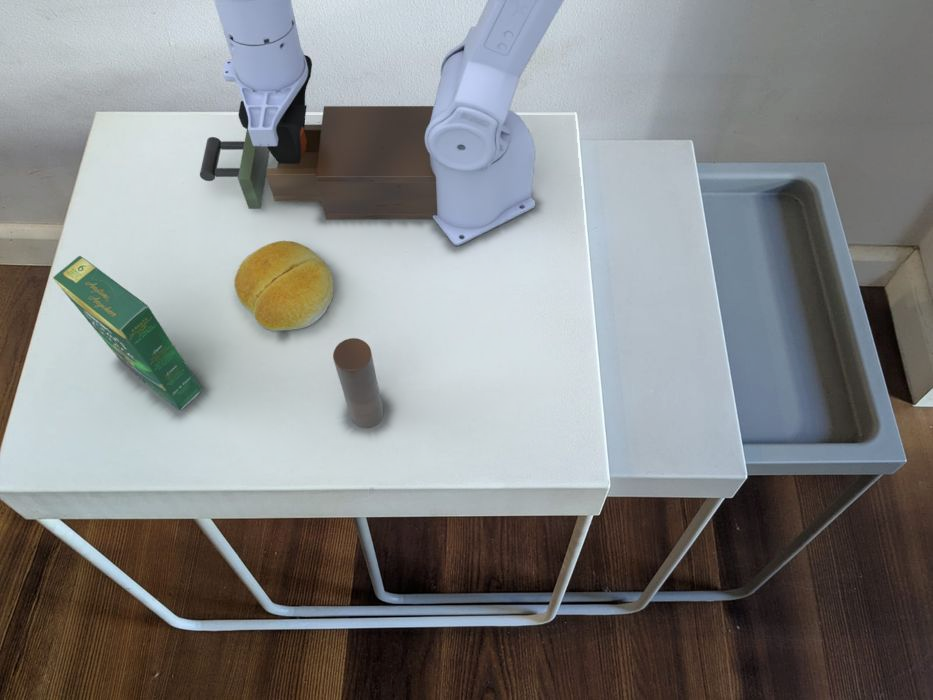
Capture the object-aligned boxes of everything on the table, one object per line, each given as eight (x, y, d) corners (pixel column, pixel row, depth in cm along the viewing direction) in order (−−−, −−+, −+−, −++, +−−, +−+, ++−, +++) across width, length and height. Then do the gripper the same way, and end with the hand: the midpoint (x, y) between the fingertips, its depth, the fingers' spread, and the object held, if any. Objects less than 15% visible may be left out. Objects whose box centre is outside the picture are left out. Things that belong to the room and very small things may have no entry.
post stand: (373, 392, 66) (359, 331, 57) (389, 417, 65) (378, 359, 56) (344, 408, 66) (326, 349, 57) (360, 434, 64) (344, 377, 56)
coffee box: (117, 362, 68) (47, 275, 56) (142, 339, 69) (79, 250, 57) (179, 413, 65) (119, 333, 54) (204, 389, 66) (151, 306, 55)
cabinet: (325, 219, 76) (315, 176, 70) (332, 151, 80) (323, 105, 75) (443, 219, 76) (442, 176, 71) (444, 150, 80) (443, 105, 75)
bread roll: (280, 350, 68) (270, 327, 65) (226, 287, 72) (214, 261, 68) (355, 300, 71) (349, 275, 68) (299, 241, 74) (291, 214, 71)
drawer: (205, 209, 75) (192, 178, 71) (217, 149, 79) (205, 117, 75) (356, 208, 75) (351, 178, 72) (361, 149, 79) (356, 117, 75)
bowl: (298, 131, 74) (293, 114, 73) (312, 151, 73) (308, 134, 71) (269, 143, 74) (264, 126, 72) (283, 163, 72) (278, 146, 71)
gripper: (221, -35, 65) (258, 92, 77) (193, 85, 58) (238, 205, 70) (305, -35, 65) (329, 92, 77) (287, 85, 58) (316, 205, 70)
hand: (291, 145), depth 73 cm, fingers closed on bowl, 3 cm apart
